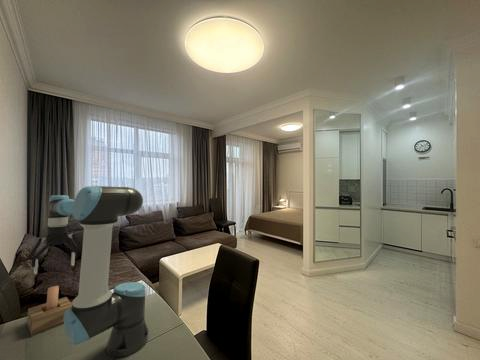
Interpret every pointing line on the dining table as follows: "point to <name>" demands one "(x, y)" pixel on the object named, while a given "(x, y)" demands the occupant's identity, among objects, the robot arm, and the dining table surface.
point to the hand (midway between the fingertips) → (55, 269)
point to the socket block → (47, 316)
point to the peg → (52, 298)
